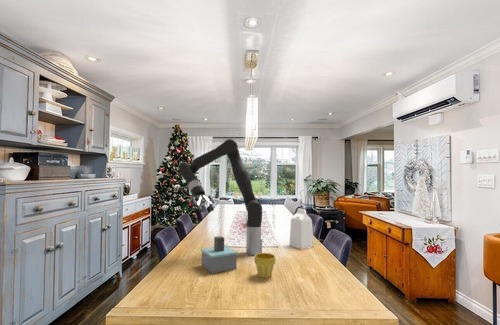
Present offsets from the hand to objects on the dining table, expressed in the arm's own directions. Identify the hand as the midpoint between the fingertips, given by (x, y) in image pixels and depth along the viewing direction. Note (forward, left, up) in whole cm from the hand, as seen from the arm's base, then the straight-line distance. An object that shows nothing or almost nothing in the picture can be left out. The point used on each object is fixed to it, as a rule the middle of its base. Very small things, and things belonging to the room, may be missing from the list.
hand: (207, 210), depth 157 cm
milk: (-72, -1, -29) cm, 78 cm away
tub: (-3, +11, -29) cm, 31 cm away
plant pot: (-18, +33, -29) cm, 48 cm away
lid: (-3, +11, -21) cm, 24 cm away
